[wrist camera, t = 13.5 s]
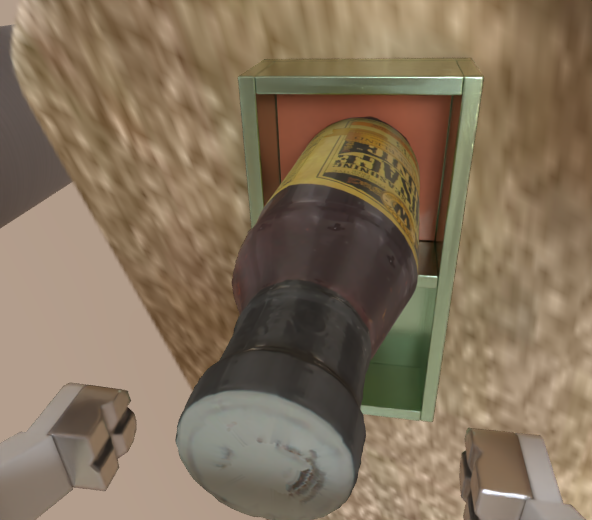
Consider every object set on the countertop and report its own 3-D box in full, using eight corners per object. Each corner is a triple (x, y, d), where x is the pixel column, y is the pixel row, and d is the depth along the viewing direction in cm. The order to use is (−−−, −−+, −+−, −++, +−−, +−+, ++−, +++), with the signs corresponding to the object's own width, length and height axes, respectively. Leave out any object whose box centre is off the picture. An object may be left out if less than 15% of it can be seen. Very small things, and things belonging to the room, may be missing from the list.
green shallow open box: (282, 354, 37) (266, 402, 33) (263, 59, 26) (237, 76, 22) (430, 369, 35) (433, 423, 31) (472, 57, 25) (484, 75, 20)
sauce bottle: (441, 180, 27) (496, 537, 10) (347, 236, 30) (267, 589, 13) (372, 78, 25) (298, 310, 8) (278, 148, 28) (79, 429, 11)
